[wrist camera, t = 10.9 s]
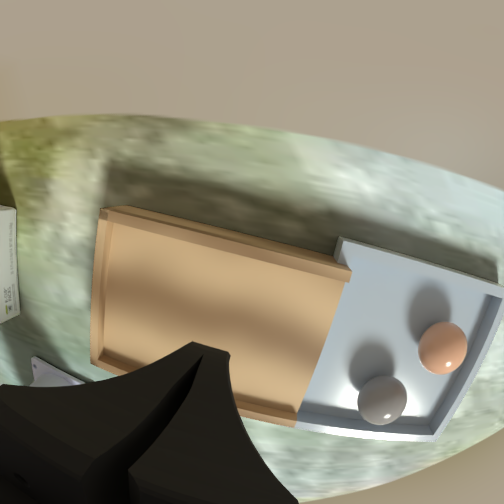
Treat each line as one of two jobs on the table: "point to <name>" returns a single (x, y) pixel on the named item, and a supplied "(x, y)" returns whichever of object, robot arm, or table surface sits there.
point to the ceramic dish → (397, 342)
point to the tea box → (8, 265)
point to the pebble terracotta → (442, 348)
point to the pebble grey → (382, 400)
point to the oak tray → (212, 304)
